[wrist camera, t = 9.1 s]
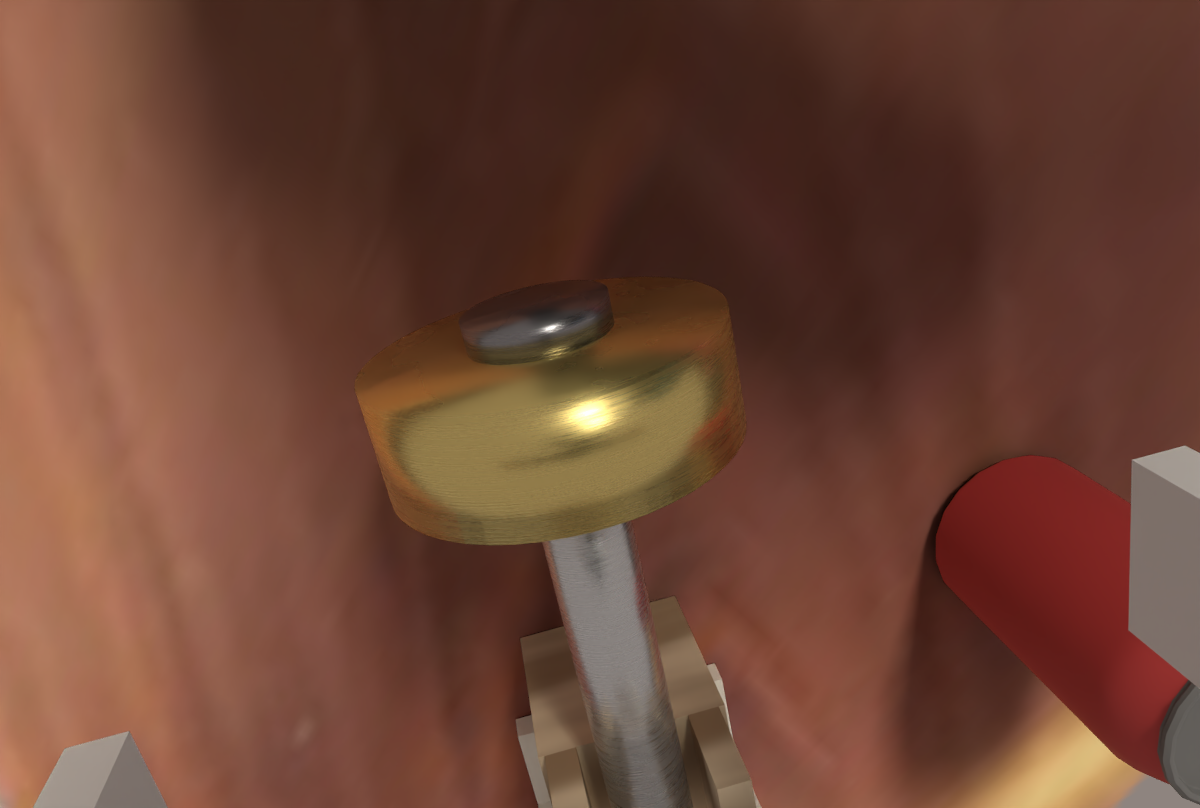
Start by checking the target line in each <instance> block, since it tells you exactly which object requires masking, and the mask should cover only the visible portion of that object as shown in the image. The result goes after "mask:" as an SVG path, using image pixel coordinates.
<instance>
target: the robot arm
mask: <svg viewBox="0 0 1200 808" xmlns="http://www.w3.org/2000/svg"><path fill="white" fill-rule="evenodd" d="M1128 630H1129V631H1130V632H1131V633H1132V634H1134V635H1135V636H1136V637H1137V638H1138V639H1140V640H1141V641H1142V642H1143V643H1145V644H1146V645H1147V646H1148V647H1149V648H1151V649H1152V650H1153V651H1154V652H1155V653H1157V654H1158V655H1159V656H1160V657H1162V658H1163V659H1164V660H1165V661H1166V662H1168V663H1169V664H1170V665H1171V666H1172V667H1174V668H1175V669H1176V670H1177V671H1179V672H1180V673H1181V674H1182V675H1183V676H1185V677H1186V678H1187V679H1188V680H1189V681H1191V682H1192V683H1193V684H1194V685H1196V686H1197V687H1198V688H1199V689H1200V453H1198V452H1197V451H1195V450H1193V449H1191V448H1189V447H1187V446H1181V447H1178V448H1174V449H1170V450H1167V451H1163V452H1159V453H1156V454H1152V455H1148V456H1144V457H1141V458H1137V459H1133V460H1132V477H1131V526H1130V575H1129V624H1128ZM33 808H168V807H167V805H166V803H165V801H164V799H163V797H162V795H161V793H160V791H159V789H158V787H157V785H156V783H155V781H154V779H153V777H152V775H151V773H150V771H149V770H148V768H147V766H146V764H145V762H144V760H143V758H142V756H141V754H140V752H139V750H138V748H137V746H136V744H135V742H134V740H133V738H132V736H131V734H130V732H129V731H128V732H124V733H120V734H117V735H113V736H109V737H105V738H102V739H98V740H94V741H91V742H87V743H83V744H80V745H76V746H72V747H68V748H65V749H64V751H63V753H62V755H61V756H60V758H59V760H58V762H57V764H56V766H55V768H54V769H53V771H52V773H51V775H50V777H49V779H48V781H47V782H46V784H45V786H44V788H43V790H42V792H41V794H40V795H39V797H38V799H37V801H36V803H35V805H34V807H33Z"/></svg>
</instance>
